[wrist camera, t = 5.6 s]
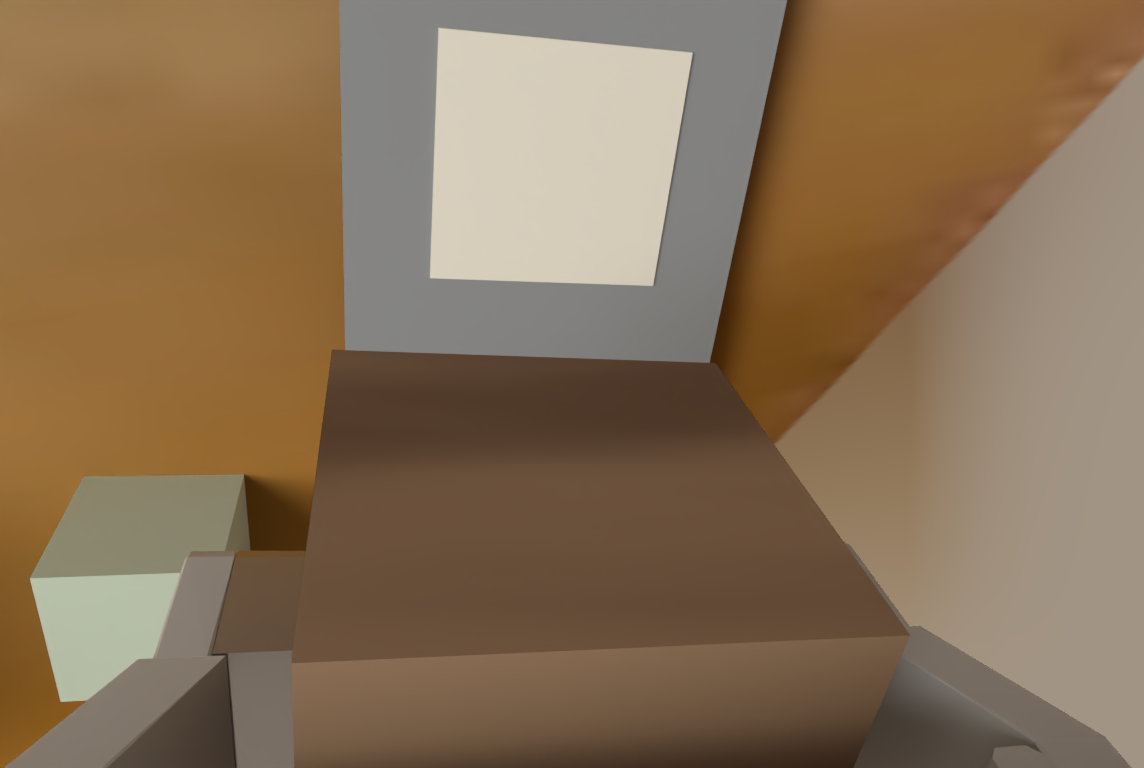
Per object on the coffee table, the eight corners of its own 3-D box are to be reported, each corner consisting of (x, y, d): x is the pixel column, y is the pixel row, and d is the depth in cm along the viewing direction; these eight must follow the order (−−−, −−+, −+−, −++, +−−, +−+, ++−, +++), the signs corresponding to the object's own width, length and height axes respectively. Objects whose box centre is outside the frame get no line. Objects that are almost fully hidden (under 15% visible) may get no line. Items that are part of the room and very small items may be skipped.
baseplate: (337, -239, 20) (334, -248, 19) (803, -165, 23) (824, -168, 21) (348, 412, 29) (346, 433, 27) (684, 413, 31) (695, 431, 30)
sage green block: (84, 474, 28) (29, 578, 24) (244, 472, 29) (219, 571, 25) (106, 589, 30) (60, 701, 26) (253, 583, 31) (232, 690, 27)
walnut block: (331, 349, 10) (291, 664, 6) (715, 362, 11) (909, 635, 7) (332, 648, 13) (302, 1028, 8) (650, 635, 14) (769, 964, 9)
